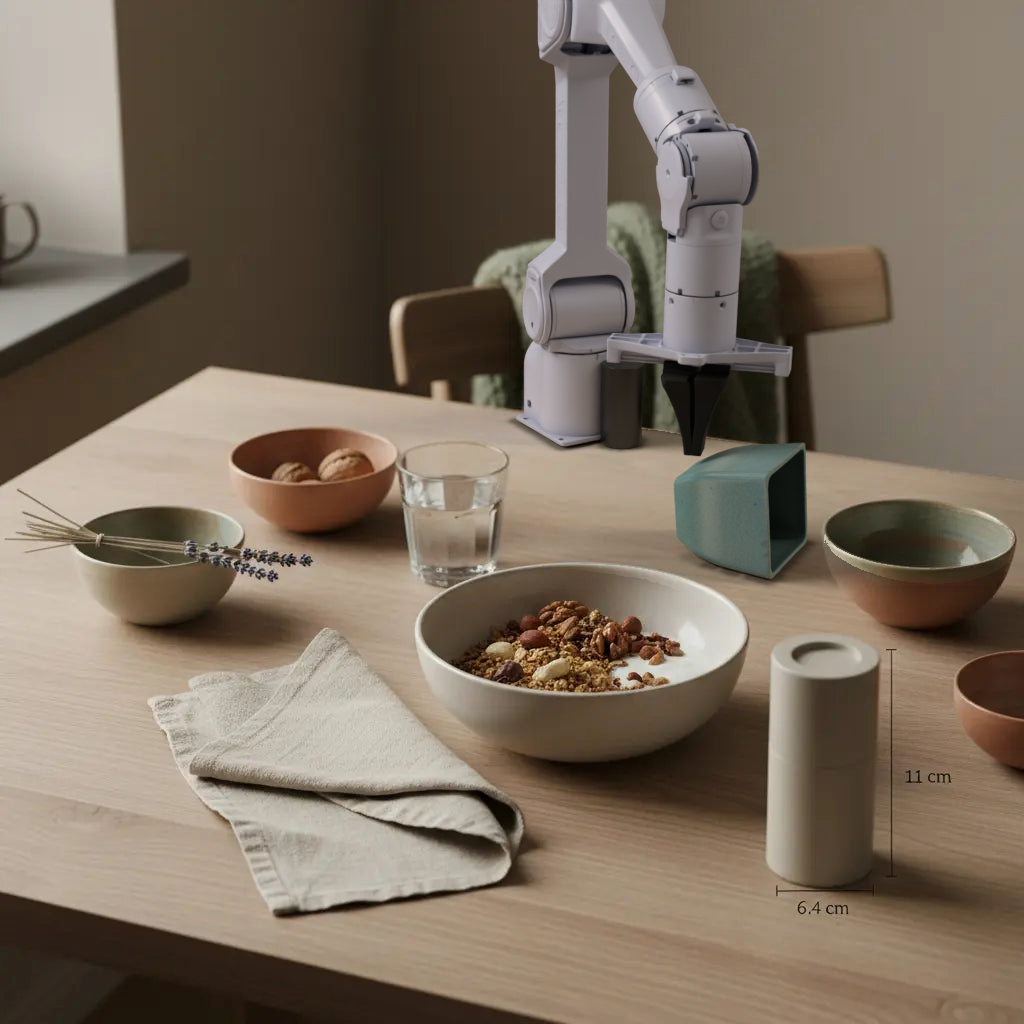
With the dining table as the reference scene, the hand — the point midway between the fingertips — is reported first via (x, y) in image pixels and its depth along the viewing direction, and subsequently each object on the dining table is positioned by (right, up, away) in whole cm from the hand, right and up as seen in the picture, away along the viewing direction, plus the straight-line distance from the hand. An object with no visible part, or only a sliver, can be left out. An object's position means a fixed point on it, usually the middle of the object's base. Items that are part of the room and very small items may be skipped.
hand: (694, 451), depth 123 cm
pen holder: (-4, +2, +24) cm, 25 cm away
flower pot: (-1, -4, +1) cm, 4 cm away
